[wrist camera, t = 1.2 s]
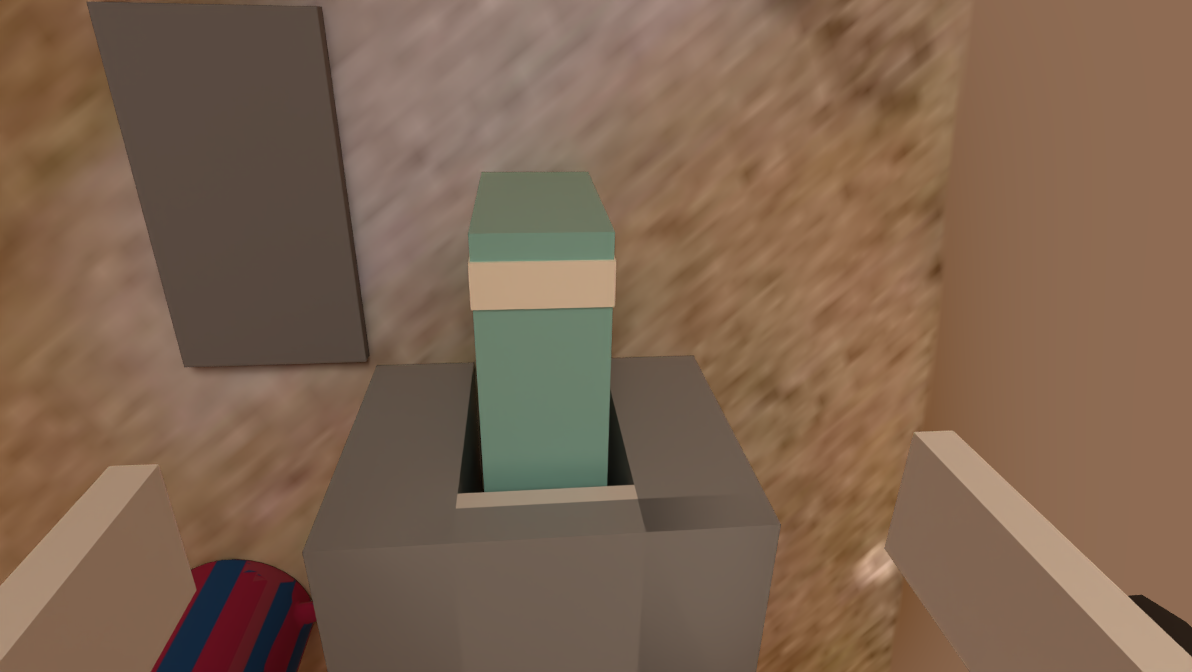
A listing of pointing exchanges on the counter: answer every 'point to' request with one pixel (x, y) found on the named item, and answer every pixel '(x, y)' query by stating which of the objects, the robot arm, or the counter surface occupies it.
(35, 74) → the counter surface
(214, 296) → the pad
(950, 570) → the robot arm
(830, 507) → the counter surface
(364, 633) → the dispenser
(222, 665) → the mug
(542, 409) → the banded gift box
